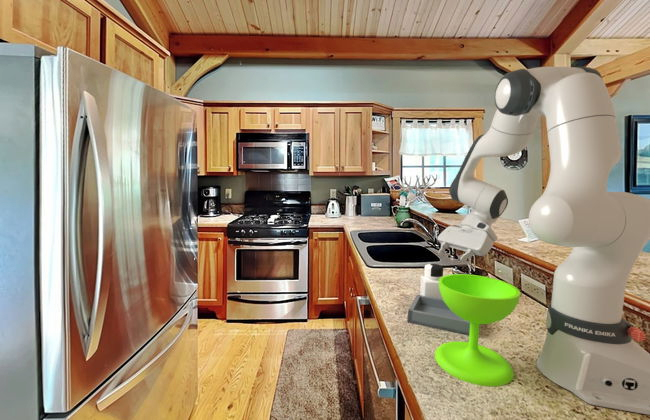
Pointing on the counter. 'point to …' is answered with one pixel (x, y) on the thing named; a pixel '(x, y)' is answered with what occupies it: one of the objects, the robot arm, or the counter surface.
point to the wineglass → (476, 327)
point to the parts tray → (436, 315)
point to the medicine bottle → (431, 281)
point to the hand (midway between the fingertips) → (450, 257)
